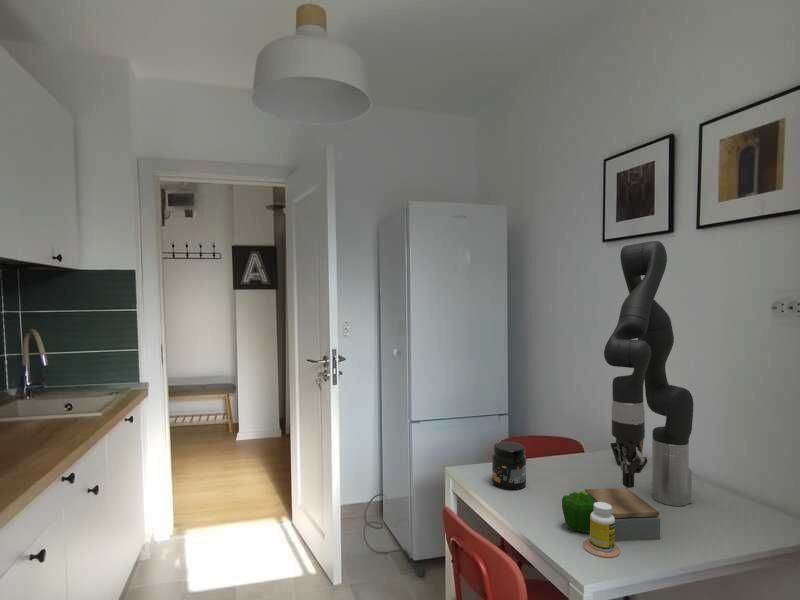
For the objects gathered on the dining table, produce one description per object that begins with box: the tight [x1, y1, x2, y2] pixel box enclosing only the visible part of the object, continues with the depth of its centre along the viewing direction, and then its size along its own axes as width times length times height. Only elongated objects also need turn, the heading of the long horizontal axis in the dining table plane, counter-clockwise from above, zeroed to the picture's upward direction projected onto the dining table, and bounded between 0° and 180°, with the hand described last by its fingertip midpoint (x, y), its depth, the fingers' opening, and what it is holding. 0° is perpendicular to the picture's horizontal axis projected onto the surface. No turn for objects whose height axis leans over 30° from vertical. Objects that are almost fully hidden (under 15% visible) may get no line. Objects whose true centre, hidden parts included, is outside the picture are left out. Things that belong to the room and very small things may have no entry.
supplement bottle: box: [589, 502, 616, 552], centre depth 114 cm, size 5×5×10 cm
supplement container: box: [491, 441, 527, 491], centre depth 152 cm, size 10×10×12 cm
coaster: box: [582, 538, 621, 559], centre depth 114 cm, size 8×8×1 cm
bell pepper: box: [561, 490, 596, 533], centre depth 124 cm, size 8×8×10 cm
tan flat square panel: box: [584, 487, 660, 518], centre depth 126 cm, size 12×14×1 cm
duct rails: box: [615, 516, 661, 542], centre depth 126 cm, size 12×16×5 cm
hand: (628, 486), depth 123 cm, fingers closed
